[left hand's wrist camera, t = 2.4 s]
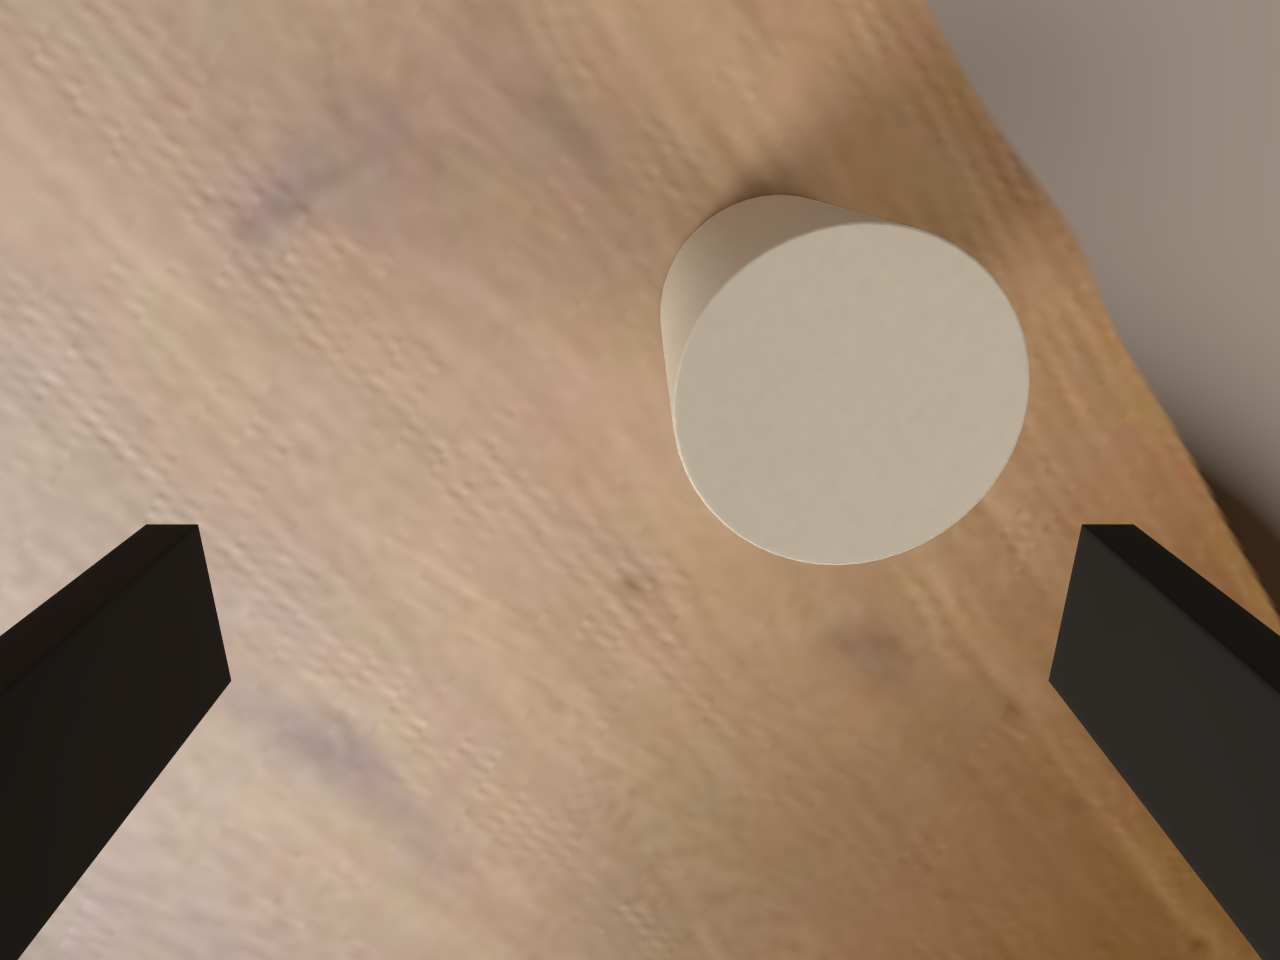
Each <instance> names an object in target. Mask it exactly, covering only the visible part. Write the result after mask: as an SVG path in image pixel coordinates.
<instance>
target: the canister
mask: <svg viewBox="0 0 1280 960" xmlns="http://www.w3.org/2000/svg"><path fill="white" fill-rule="evenodd" d="M660 321H661V333H662V341H663V348H664V356H665V364H666V372H667V380H668V388H669V396H670V403H671V411H672V419H673V427H674V433H675V438H676V443H677V447H678V452H679V455H680V458H681V460H682V463H683V466H684V469H685V471H686V474H687V475H688V477H689V479H690V481H691V483H692V485H693V487H694V489H695V491H696V492H697V493H698V495H699V496H700V497H701V499H702V500H703V502H704V503H705V504H706V506H707V507H708V508H709V509H710V510H711V511H712V513H713V514H714V515H715V516H716V517H717V518H718V519H719V520H720V521H721V522H722V523H723V524H725V525H726V526H727V527H728V528H730V529H731V530H732V531H733V532H735V533H736V534H737V535H738V536H740V537H742V538H743V539H745V540H747V541H748V542H750V543H752V544H753V545H755V546H757V547H759V548H762V549H764V550H766V551H768V552H771V553H773V554H775V555H779V556H782V557H786V558H789V559H792V560H796V561H802V562H808V563H814V564H828V565H844V564H858V563H864V562H869V561H875V560H880V559H884V558H887V557H890V556H893V555H897V554H900V553H903V552H905V551H907V550H910V549H912V548H914V547H917V546H919V545H921V544H923V543H925V542H927V541H928V540H930V539H932V538H934V537H935V536H937V535H939V534H941V533H942V532H944V531H945V530H946V529H948V528H949V527H950V526H952V525H953V524H955V523H956V522H957V521H959V520H960V519H961V518H962V517H963V516H964V515H965V514H967V513H968V512H969V511H970V510H971V509H972V508H973V507H974V506H975V505H976V504H977V503H978V502H979V501H980V500H981V499H982V497H983V496H984V495H985V494H986V493H987V492H988V490H989V489H990V488H991V487H992V486H993V484H994V483H995V481H996V480H997V478H998V477H999V475H1000V474H1001V472H1002V471H1003V469H1004V468H1005V466H1006V464H1007V462H1008V460H1009V458H1010V456H1011V454H1012V452H1013V450H1014V448H1015V446H1016V443H1017V440H1018V438H1019V435H1020V432H1021V429H1022V427H1023V423H1024V418H1025V414H1026V409H1027V405H1028V395H1029V384H1030V376H1029V357H1028V352H1027V347H1026V342H1025V337H1024V333H1023V330H1022V328H1021V325H1020V322H1019V319H1018V316H1017V314H1016V312H1015V310H1014V308H1013V306H1012V304H1011V302H1010V300H1009V298H1008V297H1007V295H1006V293H1005V292H1004V290H1003V289H1002V288H1001V286H1000V285H999V284H998V282H997V281H996V280H995V278H994V277H993V276H992V275H991V274H990V273H989V272H988V271H987V270H986V269H985V268H984V267H983V266H982V265H981V264H980V263H979V262H978V261H977V260H976V259H975V258H974V257H972V256H971V255H969V254H968V253H967V252H965V251H964V250H963V249H961V248H960V247H958V246H957V245H955V244H953V243H951V242H949V241H947V240H946V239H944V238H942V237H940V236H938V235H936V234H933V233H930V232H927V231H924V230H922V229H919V228H916V227H913V226H909V225H905V224H902V223H898V222H894V221H890V220H887V219H883V218H879V217H876V216H872V215H868V214H865V213H861V212H857V211H853V210H850V209H846V208H842V207H839V206H835V205H831V204H827V203H824V202H820V201H816V200H813V199H809V198H804V197H799V196H793V195H768V196H760V197H756V198H751V199H747V200H744V201H741V202H739V203H736V204H733V205H731V206H729V207H727V208H725V209H724V210H722V211H720V212H718V213H717V214H715V215H714V216H712V217H711V218H710V219H708V220H707V221H705V222H704V223H703V224H702V225H701V226H700V227H699V228H698V229H697V230H696V231H694V232H693V234H692V235H691V236H690V237H689V238H688V240H687V241H686V242H685V243H684V244H683V246H682V248H681V249H680V251H679V252H678V254H677V255H676V257H675V259H674V261H673V263H672V265H671V267H670V269H669V271H668V274H667V278H666V281H665V284H664V287H663V293H662V298H661V309H660Z"/></svg>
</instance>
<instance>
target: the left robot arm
mask: <svg viewBox="0 0 1280 960" xmlns="http://www.w3.org/2000/svg"><path fill="white" fill-rule="evenodd" d="M230 682H231V677H230V673H229V668H228V663H227V659H226V654H225V649H224V645H223V640H222V635H221V631H220V626H219V621H218V616H217V612H216V607H215V602H214V598H213V593H212V588H211V584H210V579H209V574H208V569H207V565H206V560H205V555H204V551H203V546H202V541H201V537H200V532H199V527H198V524H146V525H145V526H144V527H142V528H141V529H140V530H138V531H137V532H136V533H135V534H133V535H132V536H131V537H129V538H128V539H127V540H125V541H124V542H123V543H121V544H120V545H119V546H118V547H116V548H115V549H114V550H112V551H111V552H110V553H108V554H107V555H106V556H104V557H103V558H102V559H101V560H99V561H98V562H97V563H95V564H94V565H93V566H91V567H90V568H89V569H87V570H86V571H85V572H84V573H82V574H81V575H80V576H78V577H77V578H76V579H74V580H73V581H72V582H70V583H69V584H68V585H67V586H65V587H64V588H63V589H61V590H60V591H59V592H57V593H56V594H55V595H53V596H52V597H51V598H50V599H48V600H47V601H46V602H44V603H43V604H42V605H40V606H39V607H38V608H36V609H35V610H34V611H33V612H31V613H30V614H29V615H27V616H26V617H25V618H23V619H22V620H21V621H19V622H18V623H17V624H16V625H14V626H13V627H12V628H10V629H9V630H8V631H6V632H5V633H4V634H2V635H1V636H0V960H18V959H19V957H20V956H21V955H22V953H23V952H24V951H25V949H26V948H27V947H28V945H29V944H30V943H31V942H32V940H33V939H34V938H35V936H36V935H37V934H38V932H39V931H40V930H41V928H42V927H43V926H44V925H45V923H46V922H47V921H48V919H49V918H50V917H51V915H52V914H53V913H54V912H55V910H56V909H57V908H58V906H59V905H60V904H61V902H62V901H63V900H64V898H65V897H66V896H67V895H68V893H69V892H70V891H71V889H72V888H73V887H74V885H75V884H76V883H77V881H78V880H79V879H80V878H81V876H82V875H83V874H84V872H85V871H86V870H87V868H88V867H89V866H90V865H91V863H92V862H93V861H94V859H95V858H96V857H97V855H98V854H99V853H100V851H101V850H102V849H103V848H104V846H105V845H106V844H107V842H108V841H109V840H110V838H111V837H112V836H113V834H114V833H115V832H116V831H117V829H118V828H119V827H120V825H121V824H122V823H123V821H124V820H125V819H126V818H127V816H128V815H129V814H130V812H131V811H132V810H133V808H134V807H135V806H136V804H137V803H138V802H139V801H140V799H141V798H142V797H143V795H144V794H145V793H146V791H147V790H148V789H149V787H150V786H151V785H152V784H153V782H154V781H155V780H156V778H157V777H158V776H159V774H160V773H161V772H162V771H163V769H164V768H165V767H166V765H167V764H168V763H169V761H170V760H171V759H172V757H173V756H174V755H175V754H176V752H177V751H178V750H179V748H180V747H181V746H182V744H183V743H184V742H185V740H186V739H187V738H188V737H189V735H190V734H191V733H192V731H193V730H194V729H195V727H196V726H197V725H198V724H199V722H200V721H201V720H202V718H203V717H204V716H205V714H206V713H207V712H208V710H209V709H210V708H211V707H212V705H213V704H214V703H215V701H216V700H217V699H218V697H219V696H220V695H221V693H222V692H223V691H224V690H225V688H226V687H227V686H228V684H229V683H230ZM1049 682H1050V683H1051V684H1052V686H1053V687H1054V688H1055V690H1056V691H1057V692H1058V693H1059V695H1060V696H1061V697H1062V699H1063V700H1064V701H1065V703H1066V704H1067V705H1068V707H1069V708H1070V709H1071V710H1072V712H1073V713H1074V714H1075V716H1076V717H1077V718H1078V720H1079V721H1080V722H1081V724H1082V725H1083V726H1084V727H1085V729H1086V730H1087V731H1088V733H1089V734H1090V735H1091V737H1092V738H1093V739H1094V740H1095V742H1096V743H1097V744H1098V746H1099V747H1100V748H1101V750H1102V751H1103V752H1104V754H1105V755H1106V756H1107V757H1108V759H1109V760H1110V761H1111V763H1112V764H1113V765H1114V767H1115V768H1116V769H1117V771H1118V772H1119V773H1120V774H1121V776H1122V777H1123V778H1124V780H1125V781H1126V782H1127V784H1128V785H1129V786H1130V787H1131V789H1132V790H1133V791H1134V793H1135V794H1136V795H1137V797H1138V798H1139V799H1140V801H1141V802H1142V803H1143V804H1144V806H1145V807H1146V808H1147V810H1148V811H1149V812H1150V814H1151V815H1152V816H1153V818H1154V819H1155V820H1156V821H1157V823H1158V824H1159V825H1160V827H1161V828H1162V829H1163V831H1164V832H1165V833H1166V834H1167V836H1168V837H1169V838H1170V840H1171V841H1172V842H1173V844H1174V845H1175V846H1176V848H1177V849H1178V850H1179V851H1180V853H1181V854H1182V855H1183V857H1184V858H1185V859H1186V861H1187V862H1188V863H1189V865H1190V866H1191V867H1192V868H1193V870H1194V871H1195V872H1196V874H1197V875H1198V876H1199V878H1200V879H1201V880H1202V881H1203V883H1204V884H1205V885H1206V887H1207V888H1208V889H1209V891H1210V892H1211V893H1212V895H1213V896H1214V897H1215V898H1216V900H1217V901H1218V902H1219V904H1220V905H1221V906H1222V908H1223V909H1224V910H1225V912H1226V913H1227V914H1228V915H1229V917H1230V918H1231V919H1232V921H1233V922H1234V923H1235V925H1236V926H1237V927H1238V928H1239V930H1240V931H1241V932H1242V934H1243V935H1244V936H1245V938H1246V939H1247V940H1248V942H1249V943H1250V944H1251V945H1252V947H1253V948H1254V949H1255V951H1256V952H1257V953H1258V955H1259V956H1260V957H1261V959H1262V960H1280V636H1279V635H1278V634H1276V633H1275V632H1274V631H1272V630H1271V629H1270V628H1268V627H1267V626H1266V625H1264V624H1263V623H1262V622H1261V621H1259V620H1258V619H1257V618H1255V617H1254V616H1253V615H1251V614H1250V613H1249V612H1247V611H1246V610H1245V609H1244V608H1242V607H1241V606H1240V605H1238V604H1237V603H1236V602H1234V601H1233V600H1232V599H1230V598H1229V597H1228V596H1227V595H1225V594H1224V593H1223V592H1221V591H1220V590H1219V589H1217V588H1216V587H1215V586H1213V585H1212V584H1211V583H1210V582H1208V581H1207V580H1206V579H1204V578H1203V577H1202V576H1200V575H1199V574H1198V573H1196V572H1195V571H1194V570H1193V569H1191V568H1190V567H1189V566H1187V565H1186V564H1185V563H1183V562H1182V561H1181V560H1179V559H1178V558H1177V557H1176V556H1174V555H1173V554H1172V553H1170V552H1169V551H1168V550H1166V549H1165V548H1164V547H1162V546H1161V545H1160V544H1159V543H1157V542H1156V541H1155V540H1153V539H1152V538H1151V537H1149V536H1148V535H1147V534H1145V533H1144V532H1143V531H1142V530H1140V529H1139V528H1138V527H1136V526H1135V525H1134V524H1082V527H1081V532H1080V537H1079V541H1078V546H1077V551H1076V555H1075V560H1074V565H1073V569H1072V574H1071V579H1070V584H1069V588H1068V593H1067V598H1066V602H1065V607H1064V612H1063V616H1062V621H1061V626H1060V631H1059V635H1058V640H1057V645H1056V649H1055V654H1054V659H1053V663H1052V668H1051V673H1050V677H1049Z"/></svg>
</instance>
